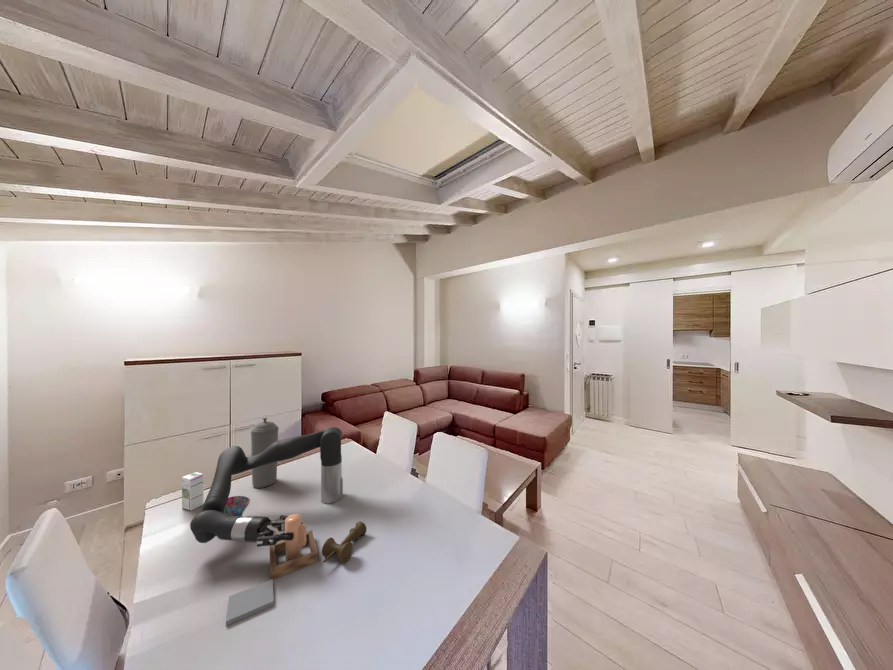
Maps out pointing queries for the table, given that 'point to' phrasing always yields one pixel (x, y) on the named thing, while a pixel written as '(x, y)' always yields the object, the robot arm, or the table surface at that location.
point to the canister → (260, 441)
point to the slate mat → (250, 601)
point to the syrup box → (192, 491)
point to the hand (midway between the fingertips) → (297, 531)
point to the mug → (236, 505)
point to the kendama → (343, 544)
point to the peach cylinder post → (299, 538)
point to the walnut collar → (294, 563)
